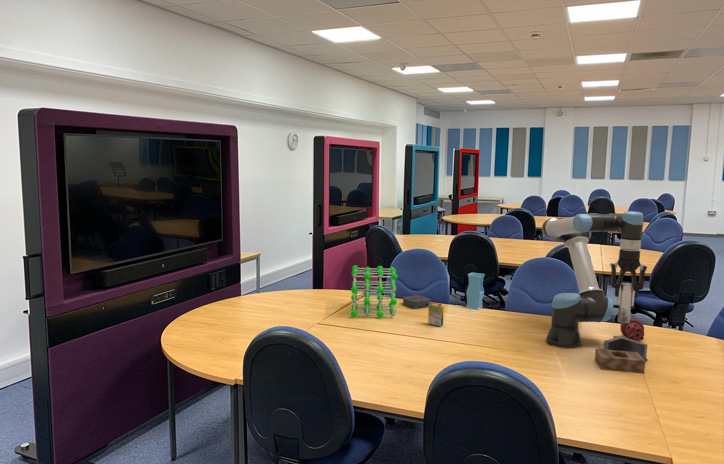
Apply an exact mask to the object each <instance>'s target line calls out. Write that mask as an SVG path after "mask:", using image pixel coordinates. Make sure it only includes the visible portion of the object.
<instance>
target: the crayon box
mask: <svg viewBox="0 0 724 464" xmlns="http://www.w3.org/2000/svg"><path fill="white" fill-rule="evenodd" d="M444 312H445V311H444V305H442V303H438V302H432V301H430V302H429V307H428V312H427V313H428V316H427V317H428V319H427V323H428V325H434V326H439V327H442V326H443V325H444Z"/></svg>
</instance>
